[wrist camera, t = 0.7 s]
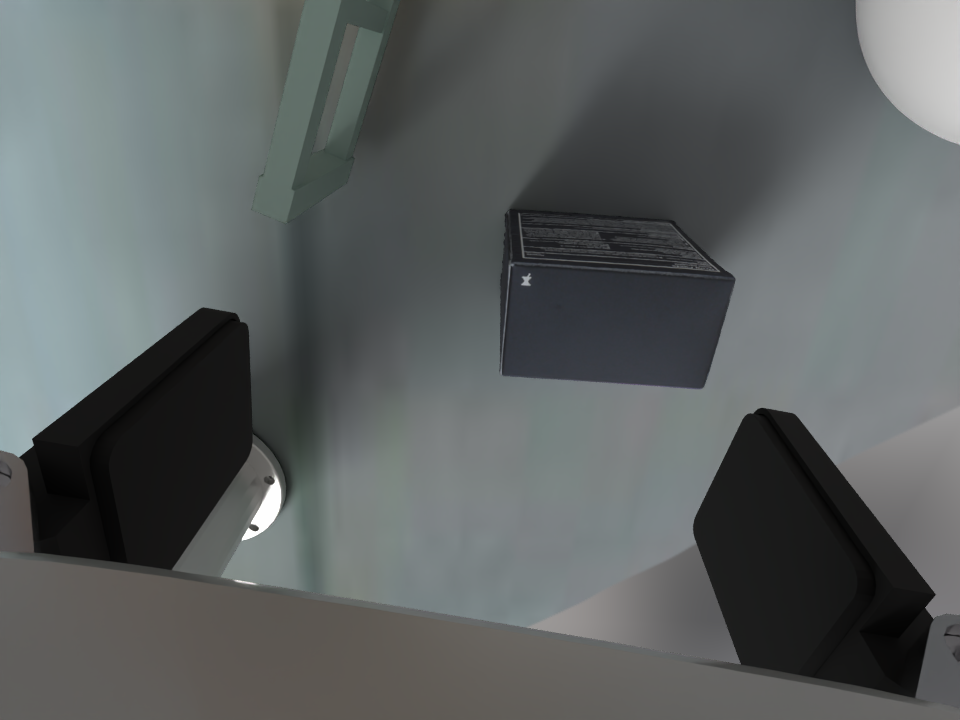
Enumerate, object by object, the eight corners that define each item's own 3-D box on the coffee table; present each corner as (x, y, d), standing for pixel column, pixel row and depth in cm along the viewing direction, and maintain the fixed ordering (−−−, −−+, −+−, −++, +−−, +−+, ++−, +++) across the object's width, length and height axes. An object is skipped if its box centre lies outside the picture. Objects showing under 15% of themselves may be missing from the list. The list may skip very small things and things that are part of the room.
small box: (497, 305, 37) (494, 382, 28) (505, 206, 34) (504, 256, 25) (655, 316, 37) (705, 397, 28) (677, 218, 34) (741, 272, 25)
